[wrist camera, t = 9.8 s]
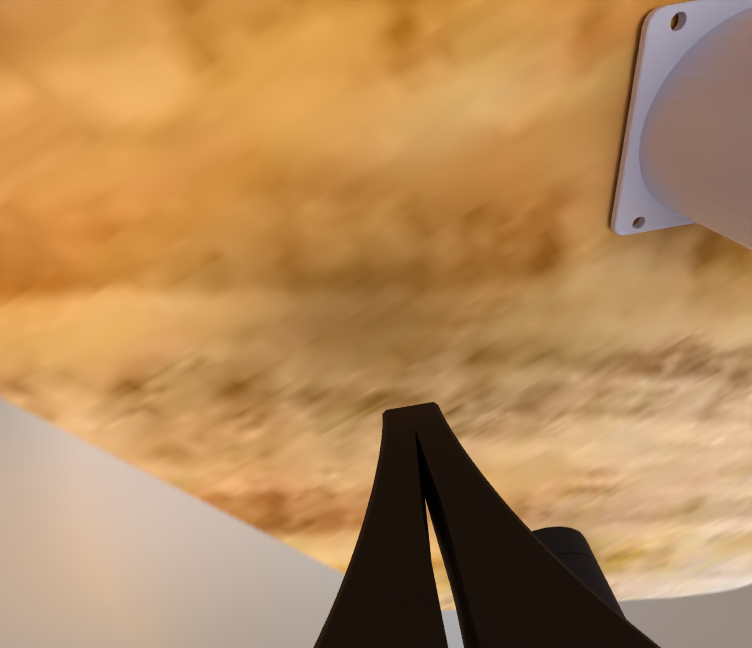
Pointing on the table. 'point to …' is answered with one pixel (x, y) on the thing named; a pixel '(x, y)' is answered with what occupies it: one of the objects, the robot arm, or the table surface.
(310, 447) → the table surface
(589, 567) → the black water bottle
